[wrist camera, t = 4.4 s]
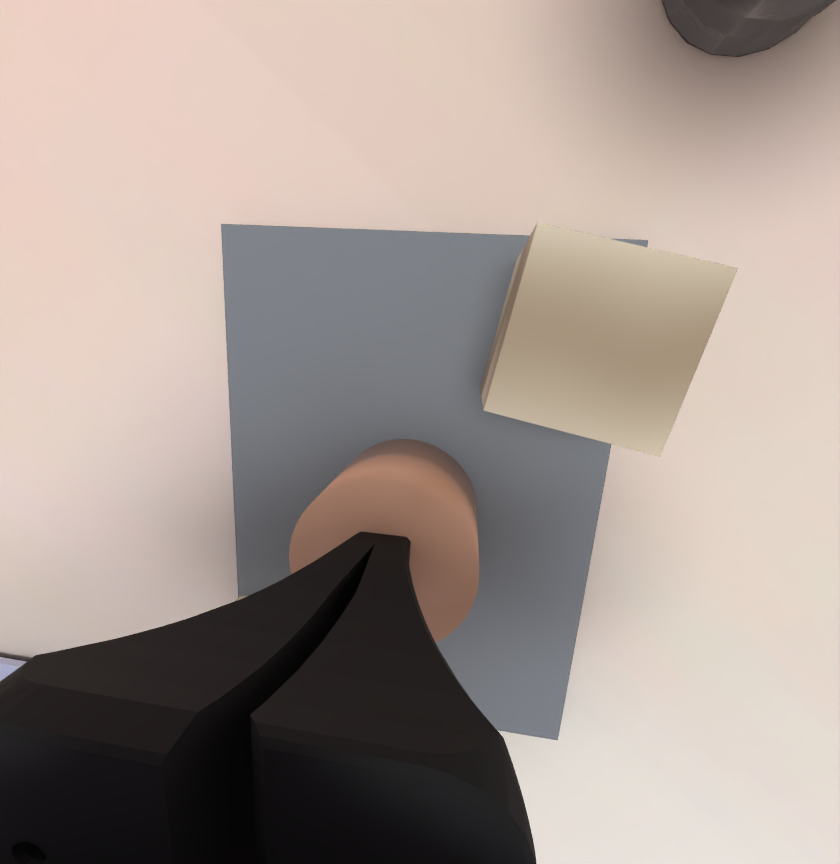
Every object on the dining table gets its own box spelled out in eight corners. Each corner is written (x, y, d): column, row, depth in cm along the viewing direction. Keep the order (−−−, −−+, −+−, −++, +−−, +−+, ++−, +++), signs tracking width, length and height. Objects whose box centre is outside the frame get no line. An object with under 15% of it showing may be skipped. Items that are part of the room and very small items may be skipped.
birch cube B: (602, 420, 13) (660, 456, 9) (479, 389, 13) (483, 410, 9) (650, 291, 12) (737, 267, 8) (516, 259, 12) (538, 222, 8)
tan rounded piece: (469, 579, 15) (469, 665, 11) (336, 561, 15) (289, 638, 11) (484, 446, 13) (489, 489, 10) (339, 432, 14) (288, 467, 10)
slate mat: (554, 726, 16) (557, 740, 16) (250, 676, 18) (242, 687, 17) (639, 244, 12) (648, 240, 11) (232, 228, 13) (221, 223, 13)
